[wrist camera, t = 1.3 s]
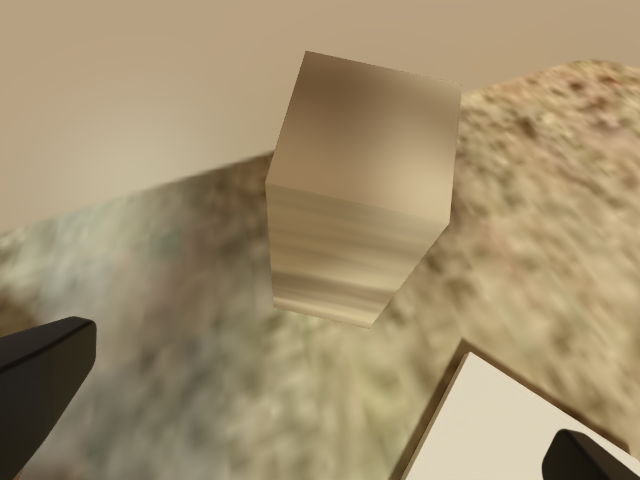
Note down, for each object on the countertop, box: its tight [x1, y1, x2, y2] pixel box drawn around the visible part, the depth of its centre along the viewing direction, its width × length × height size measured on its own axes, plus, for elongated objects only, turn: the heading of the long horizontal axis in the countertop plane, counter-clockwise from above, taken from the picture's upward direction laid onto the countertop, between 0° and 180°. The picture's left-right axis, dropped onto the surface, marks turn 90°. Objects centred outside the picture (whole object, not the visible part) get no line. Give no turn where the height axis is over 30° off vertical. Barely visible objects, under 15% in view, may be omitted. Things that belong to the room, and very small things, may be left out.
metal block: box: [265, 51, 462, 329], centre depth 18 cm, size 5×5×12 cm
